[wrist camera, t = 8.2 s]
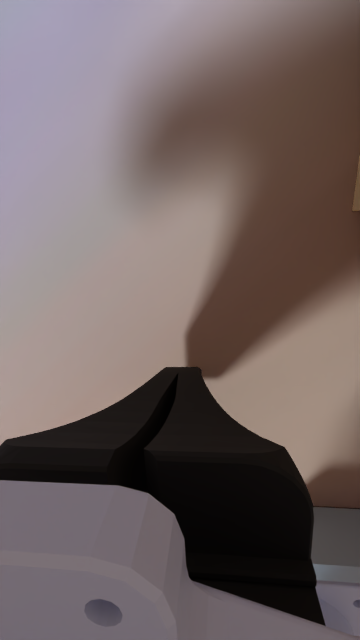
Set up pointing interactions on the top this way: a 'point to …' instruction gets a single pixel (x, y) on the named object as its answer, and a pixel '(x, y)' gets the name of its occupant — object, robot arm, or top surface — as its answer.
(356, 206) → the kraft box
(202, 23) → the top surface
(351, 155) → the top surface
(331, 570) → the tray
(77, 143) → the top surface
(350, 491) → the top surface
